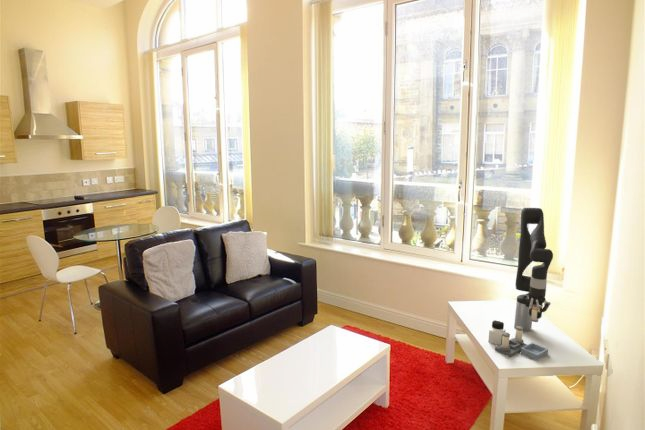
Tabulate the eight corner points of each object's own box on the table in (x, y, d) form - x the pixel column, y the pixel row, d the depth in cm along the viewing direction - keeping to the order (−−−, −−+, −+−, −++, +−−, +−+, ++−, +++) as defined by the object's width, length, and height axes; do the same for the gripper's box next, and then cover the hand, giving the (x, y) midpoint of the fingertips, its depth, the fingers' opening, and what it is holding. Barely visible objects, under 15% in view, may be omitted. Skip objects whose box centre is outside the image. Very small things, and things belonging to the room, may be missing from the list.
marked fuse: (533, 318, 220) (534, 302, 219) (539, 321, 217) (541, 305, 216) (529, 320, 218) (531, 304, 217) (535, 322, 216) (537, 306, 214)
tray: (531, 347, 228) (531, 342, 227) (547, 354, 220) (548, 349, 220) (520, 353, 221) (520, 348, 221) (537, 361, 214) (537, 355, 214)
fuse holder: (512, 341, 235) (514, 323, 233) (528, 347, 228) (530, 329, 226) (494, 350, 225) (495, 331, 223) (509, 357, 217) (511, 338, 215)
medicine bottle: (501, 345, 230) (503, 325, 228) (488, 341, 234) (489, 322, 232) (504, 340, 236) (506, 321, 233) (491, 337, 240) (493, 317, 238)
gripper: (555, 288, 211) (552, 320, 214) (529, 280, 222) (526, 310, 225) (547, 291, 207) (544, 323, 210) (521, 283, 218) (518, 313, 221)
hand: (534, 316), depth 218 cm, fingers closed on marked fuse, 3 cm apart
